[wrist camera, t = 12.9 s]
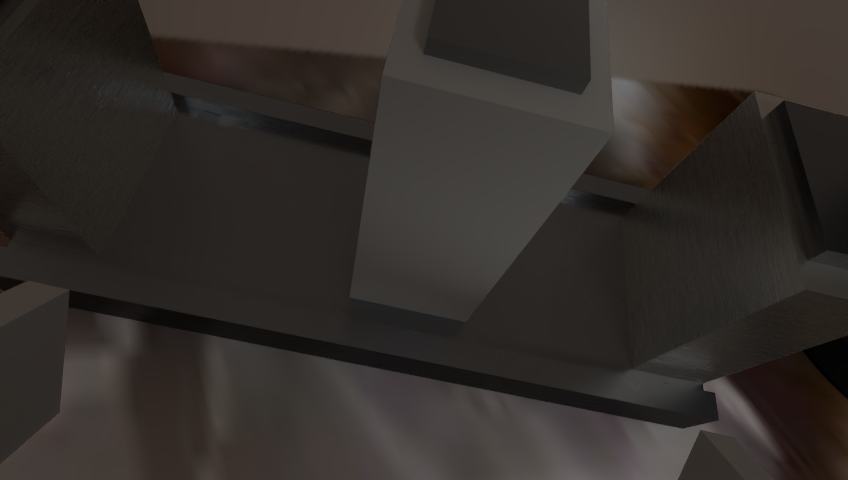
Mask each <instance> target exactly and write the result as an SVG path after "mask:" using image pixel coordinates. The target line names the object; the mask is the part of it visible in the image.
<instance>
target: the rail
mask: <svg viewBox="0 0 848 480" xmlns="http://www.w3.org/2000/svg"><path fill="white" fill-rule="evenodd" d="M374 127H375V123H373V122H369V121H365V120H360V119H356V118H352V117H348V116H344V115H340V114H336V113H332V112H327V111H323V110H319V109H315V108H311V107H307V106H303V105H299V104H294V103H290V102H286V101H282V100H278V99H274V98H270V97H266V96H261V95H257V94H253V93H249V92H245V91H241V90H237V89H233V88H228V87H224V86H220V85H216V84H212V83H208V82H204V81H200V80H195V79H191V78H187V77H183V76H179V75H175V74H171V73H167V72H163V70H162V67H161V64H160V61H159V58H158V55H157V53H156V50H155V47H154V44H153V41H152V38H151V36H150V33H149V30H148V27H147V24H146V22H145V19H144V16H143V13H142V10H141V8H140V5H139V2H138V0H0V230H1V231H2V232H3V233H4V234H5V235H6V236H8V237H9V238H10V239H11V241H10V243H9V244H8V246H7V247H4V246H0V288H1V289H2V290H3V291H7V290H9V289H11V288H13V287H15V286H18V285H20V284H22V283H24V282H26V281H32V282H37V283H41V284H46V285H50V286H55V287H59V288H64V289H68V290H70V292H69V304H68V307H72V308H77V309H82V310H87V311H92V312H97V313H102V314H107V315H112V316H117V317H122V318H127V319H132V320H137V321H142V322H147V323H153V324H158V325H163V326H168V327H173V328H178V329H183V330H188V331H193V332H198V333H203V334H208V335H213V336H218V337H223V338H228V339H233V340H238V341H243V342H248V343H253V344H259V345H264V346H269V347H274V348H279V349H284V350H289V351H294V352H299V353H304V354H309V355H314V356H319V357H324V358H329V359H334V360H339V361H344V362H349V363H354V364H360V365H365V366H370V367H375V368H380V369H385V370H390V371H395V372H400V373H405V374H410V375H415V376H420V377H425V378H430V379H435V380H440V381H445V382H450V383H455V384H461V385H466V386H471V387H476V388H481V389H486V390H491V391H496V392H501V393H506V394H511V395H516V396H521V397H526V398H531V399H536V400H541V401H546V402H551V403H556V404H562V405H567V406H572V407H577V408H582V409H587V410H592V411H597V412H602V413H607V414H612V415H617V416H622V417H627V418H632V419H637V420H642V421H647V422H652V423H657V424H663V425H668V426H673V427H678V428H687V427H692V426H696V425H701V424H705V423H710V422H714V421H719V418H718V411H717V404H716V397H715V393H712V392H708V391H704V390H703V383H705V382H708V381H711V380H714V379H717V378H720V377H723V376H726V375H729V374H732V373H735V372H738V371H741V370H744V369H747V368H750V367H754V366H757V365H760V364H763V363H766V362H769V361H772V360H775V359H778V358H781V357H784V356H787V355H790V354H793V353H796V352H799V351H802V350H805V349H808V348H811V347H814V346H817V345H820V344H823V343H826V342H829V341H832V340H835V339H838V338H841V337H844V336H847V335H848V117H846V116H843V115H839V113H836V112H832V111H829V110H824V109H821V108H817V107H813V106H810V105H806V104H802V103H798V102H794V101H791V100H787V99H783V98H780V97H776V96H772V95H768V94H765V93H761V92H757V91H754V92H753V93H751V94H750V95H749V96H748V97H747V98H746V99H745V100H744V101H743V102H742V103H741V104H740V105H739V106H738V107H737V108H736V109H735V110H734V111H733V112H732V113H731V114H730V115H729V116H728V117H727V118H725V119H724V120H723V121H722V122H721V123H720V124H719V125H718V126H717V127H716V128H715V129H714V130H713V131H712V132H711V133H710V134H709V135H708V136H707V137H706V138H705V139H704V140H703V141H702V142H701V143H699V144H698V145H697V146H696V147H695V148H694V149H693V150H692V151H691V152H690V153H689V154H688V155H687V156H686V157H685V158H684V159H683V160H682V161H681V162H680V163H679V164H678V165H677V166H676V167H675V168H673V169H672V170H671V171H670V172H669V173H668V174H667V175H666V176H665V177H664V178H663V179H662V180H661V181H660V182H659V183H658V184H657V185H656V186H655V187H654V188H653V189H652V190H649V189H645V188H641V187H637V186H633V185H629V184H624V183H620V182H616V181H612V180H608V179H604V178H600V177H596V176H591V175H587V174H583V173H582V175H581V176H580V177H579V179H578V180H577V181H576V182H575V184H574V185H573V186H572V187H571V189H570V190H569V191H568V193H567V194H566V195H565V196H564V198H563V199H562V200H561V201H560V203H559V204H558V205H557V207H556V208H555V209H554V210H553V212H552V213H551V214H550V215H549V217H548V218H547V219H546V221H545V222H544V223H543V224H542V226H541V227H540V228H539V229H538V231H537V232H536V233H535V235H534V236H533V237H532V238H531V240H530V241H529V242H528V243H527V245H526V246H525V247H524V249H523V250H522V251H521V252H520V254H519V255H518V256H517V258H516V259H515V260H514V261H513V263H512V264H511V265H510V266H509V268H508V269H507V270H506V272H505V273H504V274H503V275H502V277H501V278H500V279H499V280H498V282H497V283H496V284H495V286H494V287H493V288H492V289H491V291H490V292H489V293H488V294H487V296H486V297H485V298H484V300H483V301H482V302H481V303H480V305H479V306H478V307H477V308H476V310H475V311H474V312H473V314H472V315H471V316H470V317H469V319H468V320H467V321H466V322H464V321H459V320H454V319H449V318H445V317H440V316H435V315H430V314H426V313H421V312H416V311H411V310H407V309H402V308H397V307H392V306H388V305H383V304H378V303H373V302H369V301H364V300H359V299H355V298H350V290H351V283H352V277H353V270H354V263H355V256H356V249H357V243H358V236H359V229H360V222H361V215H362V209H363V202H364V195H365V188H366V182H367V175H368V168H369V161H370V154H371V148H372V141H373V134H374Z"/></svg>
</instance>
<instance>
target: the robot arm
mask: <svg viewBox="0 0 848 480" xmlns="http://www.w3.org/2000/svg"><path fill="white" fill-rule="evenodd" d="M69 292H70V290H68V289H64V288H59V287H55V286H50V285H46V284H41V283H37V282H32V281H26V282H24V283H22V284H20V285H18V286H15V287H13V288H11V289H9V290H7V291H4V292H2V293H0V463H2V462H3V461H4V460H5V459H6V458H7V457H9V456H10V455H11V454H12V453H13V452H14V451H15V450H17V449H18V448H19V447H20V446H21V445H22V444H24V443H25V442H26V441H27V440H28V439H29V438H30V437H32V436H33V435H34V434H35V433H36V432H37V431H39V430H40V429H41V428H42V427H43V426H44V425H45V424H47V423H48V422H49V421H50V420H51V419H52V418H54V417H55V416H56V415H57V414H58V413H59V412H60V400H61V388H62V376H63V364H64V352H65V340H66V328H67V316H68V304H69ZM807 351H808V352H809V353H810V355H811V356H812V357H813V359H814V360H815V361H816V362H817V364H818V365H819V366H820V367H821V368H822V370H823V371H824V372H825V373H826V374H827V375H828V376H829V378H830V379H831V380H832V381H833V382H834V383H835V384H836V385H837V386H838V387H839V388H840V389H841V390H842V391H843V392H844V393H845V394H846V395H847V396H848V335H847V336H844V337H841V338H838V339H835V340H832V341H829V342H826V343H823V344H820V345H817V346H814V347H811V348H808V349H807ZM678 480H774V479H773V478H772V477H771V476H770V475H769V474H768V473H767V472H766V470H765V469H764V468H763V467H762V466H761V465H760V464H759V463H758V462H757V461H756V460H755V459H754V458H753V457H752V456H751V455H750V454H749V453H748V452H747V451H746V450H745V449H744V448H743V447H742V446H741V445H740V444H739V443H738V441H737V440H736V439H735V438H734V437H730V436H725V435H721V434H716V433H712V432H707V431H703V430H701V431H700V433H699V435H698V437H697V439H696V441H695V444H694V446H693V448H692V450H691V452H690V454H689V457H688V459H687V461H686V463H685V465H684V468H683V470H682V472H681V474H680V476H679V478H678Z"/></svg>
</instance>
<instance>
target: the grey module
mask: <svg viewBox="0 0 848 480" xmlns="http://www.w3.org/2000/svg"><path fill="white" fill-rule="evenodd" d="M608 34H609V33H608V15H607V0H402V4H401V8H400V11H399V15H398V19H397V23H396V26H395V30H394V33H393V37H392V41H391V44H390V48H389V52H388V55H387V59H386V63H385V66H384V70H383V74H382V80H381V86H380V93H379V100H378V107H377V114H376V120H375V127H374V134H373V141H372V148H371V154H370V161H369V168H368V175H367V182H366V188H365V195H364V202H363V209H362V215H361V222H360V229H359V236H358V243H357V249H356V256H355V263H354V270H353V277H352V283H351V290H350V298H355V299H359V300H364V301H369V302H373V303H378V304H383V305H388V306H392V307H397V308H402V309H407V310H411V311H416V312H421V313H426V314H430V315H435V316H440V317H445V318H449V319H454V320H459V321H464V322H466V321H467V320H468V319H469V317H470V316H471V315H472V314H473V312H474V311H475V310H476V308H477V307H478V306H479V305H480V303H481V302H482V301H483V300H484V298H485V297H486V296H487V294H488V293H489V292H490V291H491V289H492V288H493V287H494V286H495V284H496V283H497V282H498V280H499V279H500V278H501V277H502V275H503V274H504V273H505V272H506V270H507V269H508V268H509V266H510V265H511V264H512V263H513V261H514V260H515V259H516V258H517V256H518V255H519V254H520V252H521V251H522V250H523V249H524V247H525V246H526V245H527V243H528V242H529V241H530V240H531V238H532V237H533V236H534V235H535V233H536V232H537V231H538V229H539V228H540V227H541V226H542V224H543V223H544V222H545V221H546V219H547V218H548V217H549V215H550V214H551V213H552V212H553V210H554V209H555V208H556V207H557V205H558V204H559V203H560V201H561V200H562V199H563V198H564V196H565V195H566V194H567V193H568V191H569V190H570V189H571V187H572V186H573V185H574V184H575V182H576V181H577V180H578V179H579V177H580V176H581V175H582V173H583V172H584V171H585V170H586V168H587V167H588V166H589V164H590V163H591V162H592V161H593V159H594V158H595V157H596V156H597V154H598V153H599V152H600V150H601V149H602V148H603V147H604V145H605V144H606V143H607V142H608V140H609V139H610V138H611V136H612V135H613V134H614V123H613V105H612V87H611V70H610V51H609V35H608Z"/></svg>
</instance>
